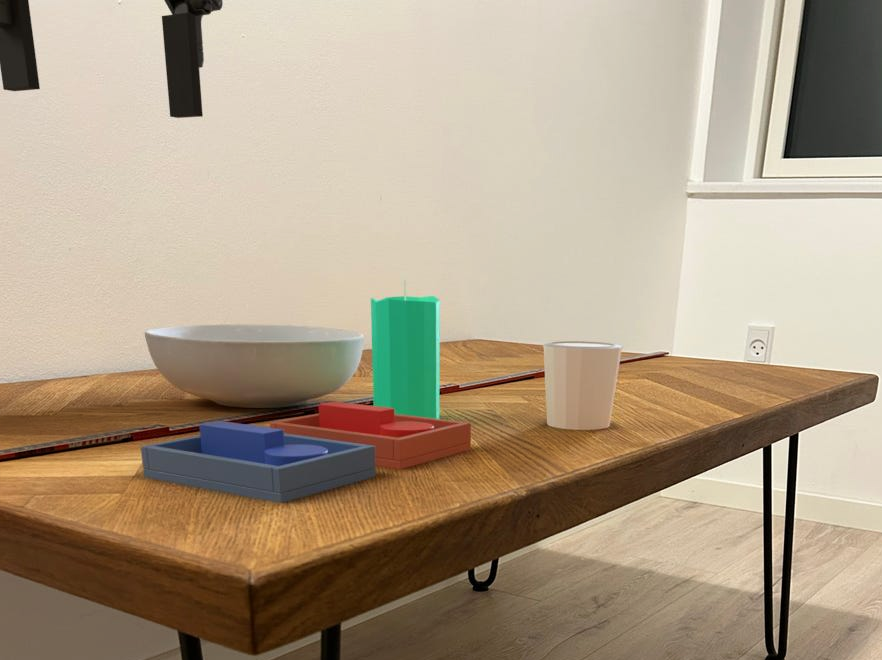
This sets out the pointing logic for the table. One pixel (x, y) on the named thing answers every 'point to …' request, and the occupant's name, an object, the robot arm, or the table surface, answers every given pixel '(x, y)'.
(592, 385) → the white cup
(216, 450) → the blue rounded step block
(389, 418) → the red rounded step block
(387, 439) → the red tray
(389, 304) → the candle
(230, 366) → the serving bowl
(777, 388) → the table surface
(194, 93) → the robot arm
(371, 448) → the blue tray
